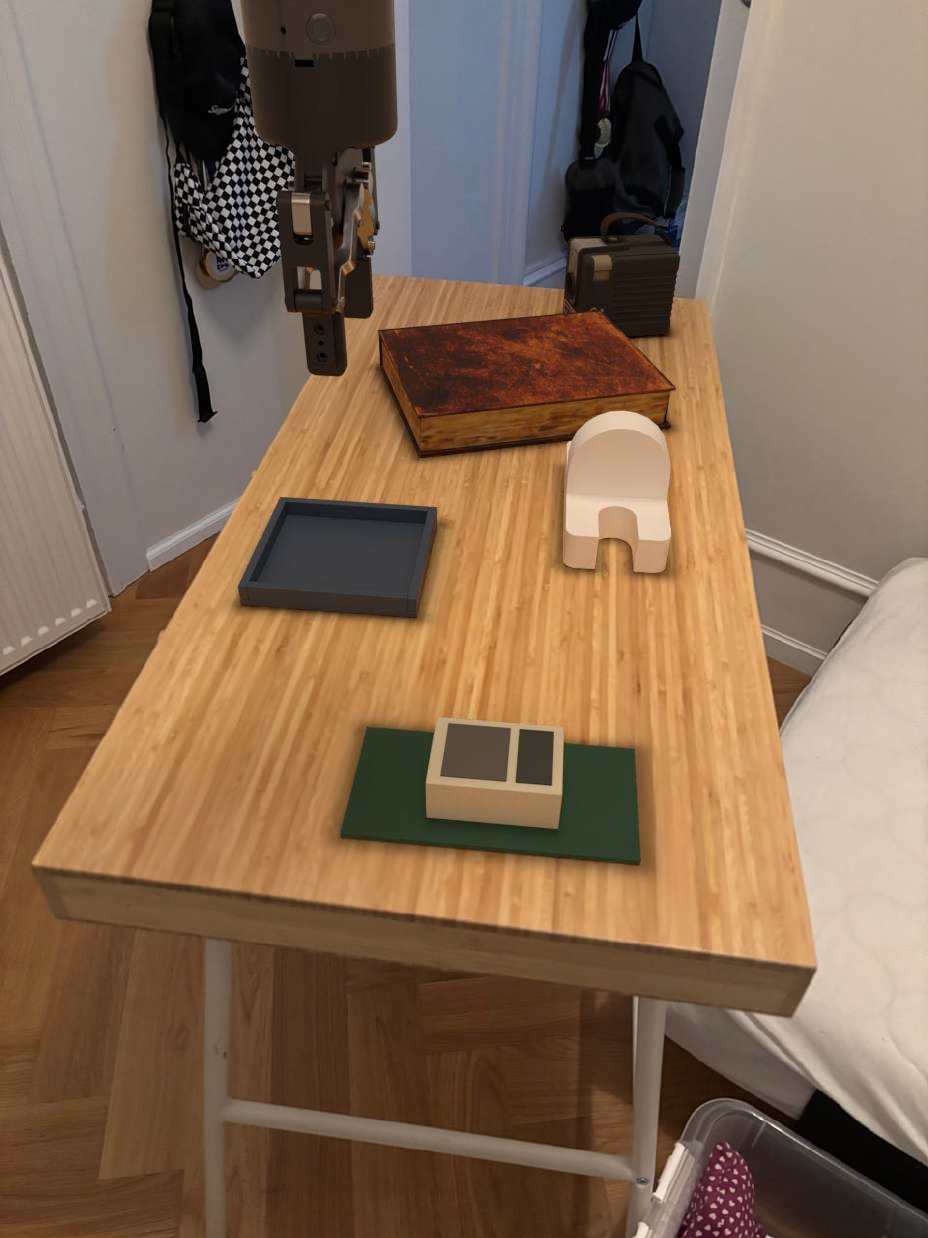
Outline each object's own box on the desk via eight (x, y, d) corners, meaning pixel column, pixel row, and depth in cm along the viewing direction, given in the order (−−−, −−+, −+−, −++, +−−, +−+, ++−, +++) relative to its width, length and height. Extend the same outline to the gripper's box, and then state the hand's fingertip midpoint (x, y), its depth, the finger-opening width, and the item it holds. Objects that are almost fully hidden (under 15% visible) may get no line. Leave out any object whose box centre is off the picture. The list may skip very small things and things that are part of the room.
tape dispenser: (653, 474, 100) (669, 380, 94) (666, 573, 86) (685, 472, 80) (564, 468, 101) (572, 375, 94) (562, 567, 87) (572, 465, 80)
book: (596, 345, 126) (600, 309, 123) (670, 428, 108) (676, 387, 105) (379, 366, 120) (377, 329, 117) (419, 457, 102) (418, 416, 99)
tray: (240, 604, 82) (237, 585, 81) (282, 514, 93) (280, 496, 92) (416, 617, 81) (416, 598, 80) (437, 524, 92) (437, 506, 91)
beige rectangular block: (426, 818, 64) (425, 781, 61) (437, 750, 69) (436, 714, 66) (558, 829, 63) (562, 793, 61) (560, 761, 68) (564, 725, 66)
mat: (340, 837, 63) (340, 833, 63) (367, 730, 71) (367, 726, 70) (639, 864, 62) (640, 861, 61) (634, 752, 69) (634, 748, 69)
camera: (554, 313, 135) (562, 203, 126) (645, 307, 137) (660, 199, 128) (575, 343, 127) (585, 228, 117) (672, 336, 129) (690, 223, 119)
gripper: (282, 12, 53) (309, 297, 63) (202, 54, 42) (250, 391, 52) (414, 16, 52) (419, 303, 62) (368, 59, 41) (384, 399, 51)
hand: (342, 343), depth 57 cm, fingers open, 8 cm apart
